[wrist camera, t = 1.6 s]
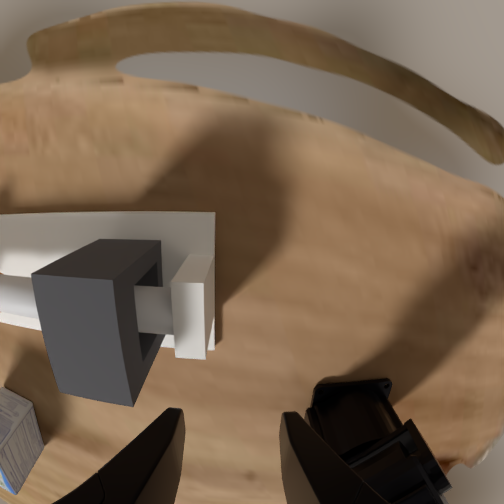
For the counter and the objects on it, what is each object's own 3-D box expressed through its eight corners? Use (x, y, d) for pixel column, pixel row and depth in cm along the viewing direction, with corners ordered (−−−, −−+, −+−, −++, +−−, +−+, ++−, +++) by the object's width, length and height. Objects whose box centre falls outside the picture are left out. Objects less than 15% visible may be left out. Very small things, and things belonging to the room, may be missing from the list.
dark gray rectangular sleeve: (161, 240, 18) (112, 280, 10) (166, 333, 19) (133, 406, 12) (99, 238, 17) (30, 273, 10) (109, 328, 19) (59, 392, 12)
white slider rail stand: (215, 212, 19) (203, 227, 13) (215, 345, 21) (207, 398, 15) (-26, 215, 18) (-73, 228, 12) (-10, 315, 20) (-48, 342, 14)
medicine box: (2, 384, 22) (-41, 432, 14) (34, 401, 22) (-7, 456, 14) (16, 431, 24) (-16, 476, 15) (46, 447, 24) (17, 497, 16)
